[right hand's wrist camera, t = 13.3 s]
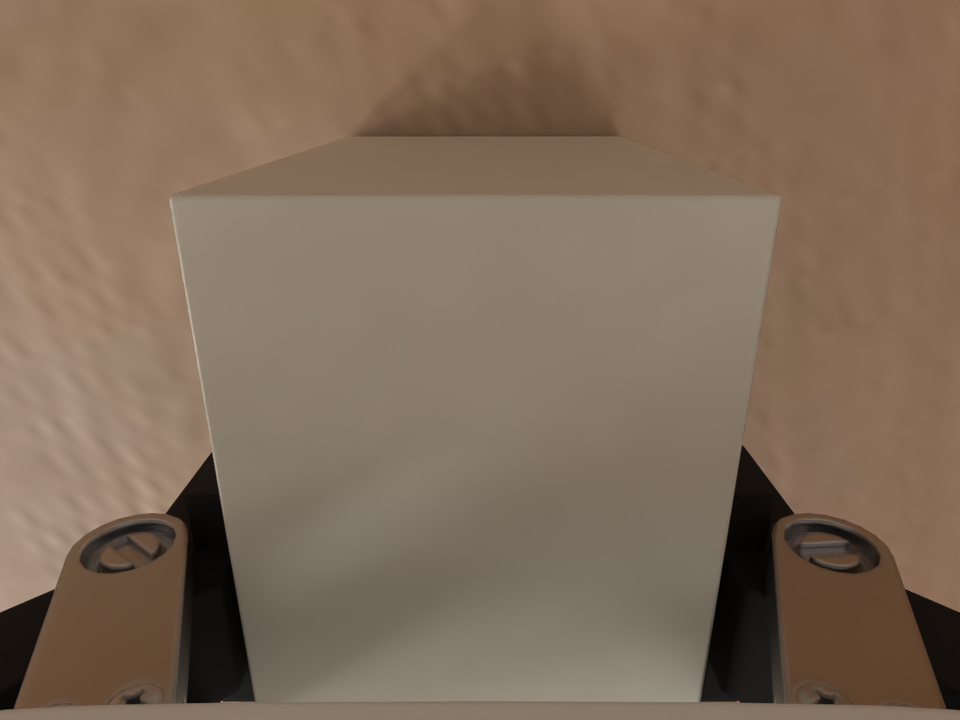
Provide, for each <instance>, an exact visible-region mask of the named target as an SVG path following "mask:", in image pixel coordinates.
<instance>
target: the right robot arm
mask: <svg viewBox="0 0 960 720" xmlns="http://www.w3.org/2000/svg"><path fill="white" fill-rule="evenodd" d="M222 700H223V702H238V703H220V701H222ZM737 700H738V701H739V702H740V703H722V702H737ZM0 720H960V612H957V611H955V610H953V609H950V608H948V607H946V606H943V605H941V604H939V603H936V602H934V601H932V600H929V599H927V598H925V597H922V596H920V595H918V594H915V593H913V592H911V591H908V590H906V589H905V588H904V585H903V582H902V580H901V577H900V574H899V571H898V568H897V565H896V562H895V559H894V557H893V555H892V553H891V552H890V550H889V548H888V547H887V545H885V544H884V543H883V542H882V541H881V540H880V539H879V538H878V537H877V536H875V535H874V534H872V533H870V532H869V531H867V530H865V529H864V528H862V527H860V526H858V525H855V524H853V523H850V522H848V521H845V520H843V519H839V518H835V517H831V516H827V515H820V514H810V513H804V514H794V513H793V511H792V510H791V509H790V507H789V506H788V505H787V503H786V502H785V501H784V499H783V498H782V497H781V495H780V494H779V493H778V491H777V490H776V489H775V487H774V486H773V485H772V483H771V482H770V481H769V479H768V478H767V477H766V475H765V474H764V473H763V471H762V470H761V469H760V467H759V466H758V465H757V463H756V462H755V461H754V459H753V458H752V457H751V455H750V454H749V453H748V451H747V450H746V449H745V447H744V446H742V447H741V453H740V459H739V466H738V472H737V478H736V484H735V490H734V497H733V503H732V509H731V515H730V521H729V528H728V534H727V540H726V546H725V552H724V559H723V565H722V571H721V577H720V583H719V590H718V596H717V602H716V608H715V614H714V621H713V627H712V633H711V639H710V645H709V652H708V658H707V664H706V670H705V676H704V683H703V689H702V695H701V701H700V702H554V701H406V702H255V699H254V693H253V687H252V682H251V676H250V670H249V664H248V658H247V652H246V646H245V641H244V635H243V629H242V623H241V617H240V611H239V606H238V600H237V594H236V588H235V582H234V576H233V570H232V565H231V559H230V553H229V547H228V541H227V535H226V529H225V524H224V518H223V512H222V506H221V500H220V494H219V488H218V483H217V477H216V471H215V465H214V459H213V453H211V454H210V455H209V457H208V458H207V459H206V461H205V462H204V463H203V465H202V466H201V467H200V469H199V470H198V471H197V473H196V474H195V475H194V477H193V478H192V479H191V481H190V482H189V483H188V485H187V486H186V487H185V489H184V490H183V491H182V493H181V494H180V495H179V497H178V498H177V499H176V501H175V502H174V503H173V505H172V506H171V507H170V509H169V510H168V511H167V513H166V514H156V513H150V514H140V515H133V516H129V517H125V518H121V519H117V520H115V521H112V522H110V523H107V524H105V525H102V526H100V527H98V528H96V529H95V530H93V531H91V532H90V533H88V534H86V535H85V536H83V537H82V538H81V539H80V540H79V541H78V542H77V543H76V544H75V545H73V547H72V548H71V550H70V552H69V553H68V555H67V557H66V559H65V562H64V565H63V568H62V571H61V574H60V577H59V580H58V582H57V585H56V588H55V589H54V590H52V591H49V592H47V593H45V594H42V595H40V596H38V597H35V598H33V599H31V600H28V601H26V602H24V603H21V604H19V605H17V606H14V607H12V608H10V609H7V610H5V611H3V612H0Z"/></svg>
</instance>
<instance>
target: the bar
mask: <svg viewBox="0 0 960 720" xmlns="http://www.w3.org/2000/svg"><path fill="white" fill-rule="evenodd" d="M169 202H170V208H171V214H172V219H173V225H174V231H175V237H176V243H177V249H178V254H179V260H180V266H181V272H182V278H183V284H184V290H185V295H186V301H187V307H188V313H189V319H190V325H191V331H192V336H193V342H194V348H195V354H196V360H197V366H198V371H199V377H200V383H201V389H202V395H203V401H204V407H205V412H206V418H207V424H208V430H209V436H210V442H211V448H212V453H213V459H214V465H215V471H216V477H217V483H218V488H219V494H220V500H221V506H222V512H223V518H224V524H225V529H226V535H227V541H228V547H229V553H230V559H231V565H232V570H233V576H234V582H235V588H236V594H237V600H238V606H239V611H240V617H241V623H242V629H243V635H244V641H245V646H246V652H247V658H248V664H249V670H250V676H251V682H252V687H253V693H254V699H255V702H406V701H554V702H700V701H701V695H702V689H703V683H704V676H705V670H706V664H707V658H708V652H709V645H710V639H711V633H712V627H713V621H714V614H715V608H716V602H717V596H718V590H719V583H720V577H721V571H722V565H723V559H724V552H725V546H726V540H727V534H728V528H729V521H730V515H731V509H732V503H733V497H734V490H735V484H736V478H737V472H738V466H739V459H740V453H741V447H742V441H743V435H744V428H745V422H746V416H747V410H748V404H749V397H750V391H751V385H752V379H753V373H754V366H755V360H756V354H757V348H758V342H759V336H760V329H761V323H762V317H763V311H764V305H765V298H766V292H767V286H768V280H769V274H770V267H771V261H772V255H773V249H774V243H775V236H776V230H777V224H778V218H779V212H780V205H781V198H780V196H778V195H776V194H774V193H771V192H768V191H766V190H763V189H760V188H758V187H755V186H752V185H749V184H747V183H744V182H741V181H739V180H736V179H733V178H731V177H728V176H725V175H723V174H720V173H717V172H715V171H712V170H709V169H707V168H704V167H701V166H699V165H696V164H693V163H690V162H688V161H685V160H682V159H680V158H677V157H674V156H672V155H669V154H666V153H664V152H661V151H658V150H656V149H653V148H650V147H648V146H645V145H642V144H640V143H637V142H634V141H632V140H629V139H626V138H623V137H621V136H468V137H346V138H343V139H340V140H337V141H334V142H331V143H328V144H325V145H322V146H318V147H315V148H312V149H309V150H306V151H303V152H300V153H297V154H294V155H291V156H288V157H285V158H282V159H279V160H276V161H273V162H270V163H267V164H264V165H261V166H258V167H255V168H252V169H249V170H246V171H243V172H240V173H237V174H234V175H231V176H228V177H225V178H222V179H219V180H216V181H213V182H210V183H207V184H204V185H201V186H198V187H195V188H192V189H189V190H186V191H183V192H180V193H177V194H174V195H172V196H170V201H169Z"/></svg>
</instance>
